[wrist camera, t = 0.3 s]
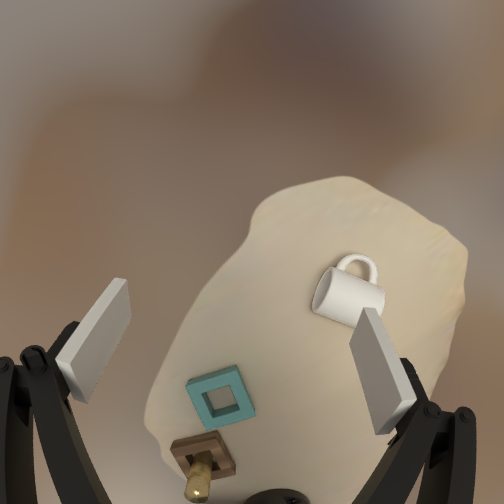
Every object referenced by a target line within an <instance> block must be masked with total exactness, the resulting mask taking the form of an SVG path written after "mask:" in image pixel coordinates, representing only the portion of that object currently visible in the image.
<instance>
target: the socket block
mask: <svg viewBox="0 0 504 504" xmlns="http://www.w3.org/2000/svg"><path fill="white" fill-rule="evenodd" d="M227 385H230V387H231V390H232V392H233V394H234V397H235V399H236V401H237V403H238V404H235V405H232V406H228V407H225V408H222V409H219V410H215V411H214V410H213V408H212V406H211V403H210V401H209V399H208V397H207V394H206V392H208V391H211V390H214V389H217V388H220V387H224V386H227ZM185 387H186V389H187V391H188V394H189V396H190V398H191V400H192V402H193V405H194V407H195V409H196V411H197V413H198V415H199V417H200V419H201V421H202V423H203V425H204V427H205V429H206V431H208V430H211V429H215V428H218V427H222V426H225V425H229V424H232V423H235V422H238V421H242V420H245V419H248V418H251V417H254V416H256V413H255V408H254V405H253V403H252V401H251V398H250V396H249V394H248V391H247V389H246V387H245V384H244V382H243V379H242V377H241V375H240V372H239V370H238V367H237V365H235V366H232V367H229V368H226V369H223V370H220V371H217V372H214V373H211V374H208V375H204V376H201V377H198V378H195V379H192V380H188V382H187V384H186V386H185Z"/></svg>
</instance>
